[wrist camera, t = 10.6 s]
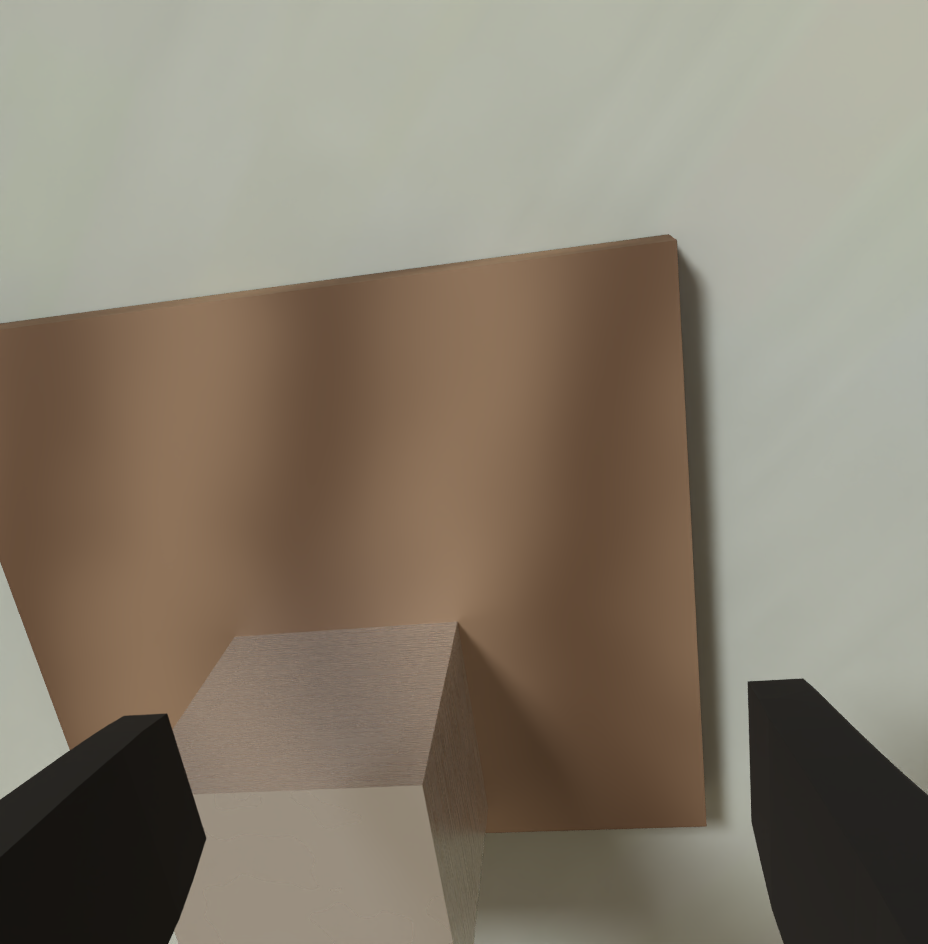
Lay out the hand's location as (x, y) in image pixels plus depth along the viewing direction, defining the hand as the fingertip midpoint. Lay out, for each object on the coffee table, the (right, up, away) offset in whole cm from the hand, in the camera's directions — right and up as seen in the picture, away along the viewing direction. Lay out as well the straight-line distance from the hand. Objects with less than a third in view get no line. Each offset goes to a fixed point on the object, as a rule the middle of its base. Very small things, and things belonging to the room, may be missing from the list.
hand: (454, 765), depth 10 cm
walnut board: (-3, +1, +10) cm, 10 cm away
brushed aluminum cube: (-2, -3, +10) cm, 11 cm away
